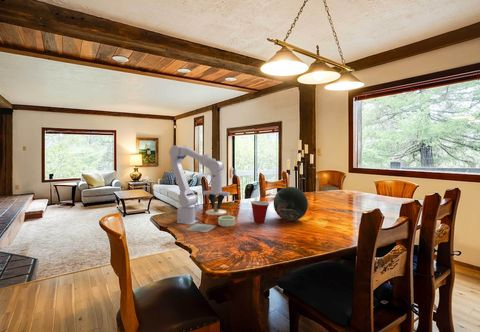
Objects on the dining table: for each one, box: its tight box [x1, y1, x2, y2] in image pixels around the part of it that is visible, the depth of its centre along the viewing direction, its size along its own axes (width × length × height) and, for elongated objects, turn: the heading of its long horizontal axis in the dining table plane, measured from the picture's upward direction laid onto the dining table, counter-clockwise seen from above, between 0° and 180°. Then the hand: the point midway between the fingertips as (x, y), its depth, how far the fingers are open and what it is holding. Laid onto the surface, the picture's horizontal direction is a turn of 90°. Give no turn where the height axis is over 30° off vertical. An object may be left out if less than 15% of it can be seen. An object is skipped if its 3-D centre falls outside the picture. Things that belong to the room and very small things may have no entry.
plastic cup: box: [250, 200, 270, 225], centre depth 151 cm, size 11×11×12 cm
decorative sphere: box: [273, 186, 309, 222], centre depth 157 cm, size 20×20×20 cm
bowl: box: [217, 215, 236, 227], centre depth 146 cm, size 9×9×4 cm
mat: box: [185, 223, 217, 233], centre depth 139 cm, size 12×12×1 cm
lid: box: [205, 202, 227, 216], centre depth 142 cm, size 11×11×5 cm
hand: (216, 208), depth 142 cm, fingers closed on lid, 3 cm apart
